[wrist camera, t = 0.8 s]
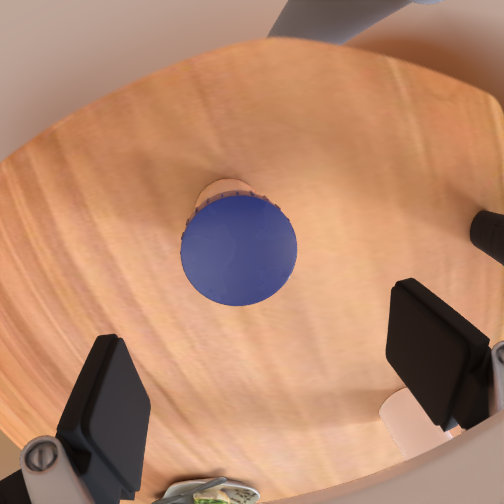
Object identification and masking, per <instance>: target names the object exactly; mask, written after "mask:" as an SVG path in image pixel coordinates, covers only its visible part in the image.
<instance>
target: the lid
mask: <svg viewBox="0 0 504 504" xmlns="http://www.w3.org/2000/svg"><path fill="white" fill-rule="evenodd" d="M280 210H281V209H280V208H279V207H278V206H277V205H276V204H275V205H274V204H273V203H272V202H271V201H269V199H268V198H267V197H266V196H261V195H259V194H256V193H253V192H252V191H251V190H250V192H249V191H243V190H237V189H235V190H233V191H226V192H222V191H221V192H220V193H219V194H217V195H214V196H212V197H210V198H207V200H206V201H204V202H203V203H202V204H201V205H200V206H199V207H196V208H195V211H194V212H193V214H192V215H191V217H190V219H187V222H186V228H185V232H183V234H182V237H181V240H182V243H181V252H180V254H181V261H182V266H183V269H184V272H185V274H186V276H187V278H188V280H189V281H190V283H191V284H192V285H193V286H194V288H195V289H196V290H197V291H199V292H200V293H201V294H202V295H204V296H205V297H206V298H208V299H210V300H212V301H214V302H217V303H220V304H224V305H230V306H245V305H251V304H255V303H258V302H260V301H263V300H265V299H267V298H269V297H270V296H272V295H273V294H275V293H276V292H277V291H278V290H279V289H280V288H281V287H282V286H283V285H284V284H285V283H286V281H287V280H288V278H289V277H290V275H291V273H292V271H293V268H294V266H295V262H296V258H297V241H296V236H295V233H294V230H293V227H292V225H291V223H290V222H289V221H290V220H289V219H288V218H287V217H286V216H285V215H284V214H283V213H282V212H281V211H280Z"/></svg>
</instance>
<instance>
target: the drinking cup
mask: <svg viewBox="0 0 504 504" xmlns="http://www.w3.org/2000/svg"><path fill="white" fill-rule="evenodd" d="M470 237H471V241H472V243H473V245H474V246H476V247H477V248H479V249H480V250H482V251H483V252H485V253H486V254H488V255H489V256H491V257H492V258H494V259H495V260H496V261H498V262H499V263H501V264H502V265H503V266H504V215H502V214H497V213H493V212H489V211H481V212H480V213H478V214H477V215H476V217H475V218H474V220H473V222H472V225H471V230H470Z"/></svg>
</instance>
